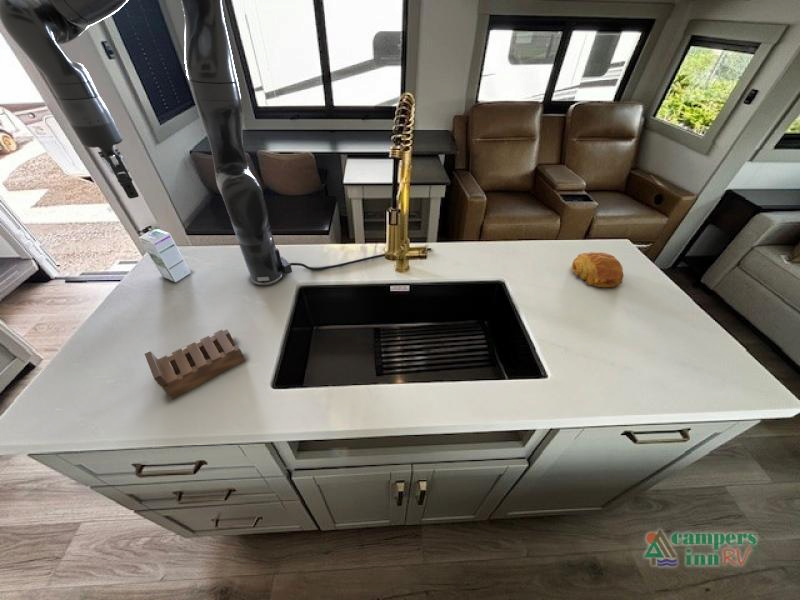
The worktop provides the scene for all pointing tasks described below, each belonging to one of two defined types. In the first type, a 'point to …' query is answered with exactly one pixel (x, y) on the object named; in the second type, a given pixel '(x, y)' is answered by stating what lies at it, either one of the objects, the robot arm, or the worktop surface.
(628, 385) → the worktop surface
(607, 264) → the croissant
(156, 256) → the syrup box
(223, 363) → the rack
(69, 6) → the robot arm
